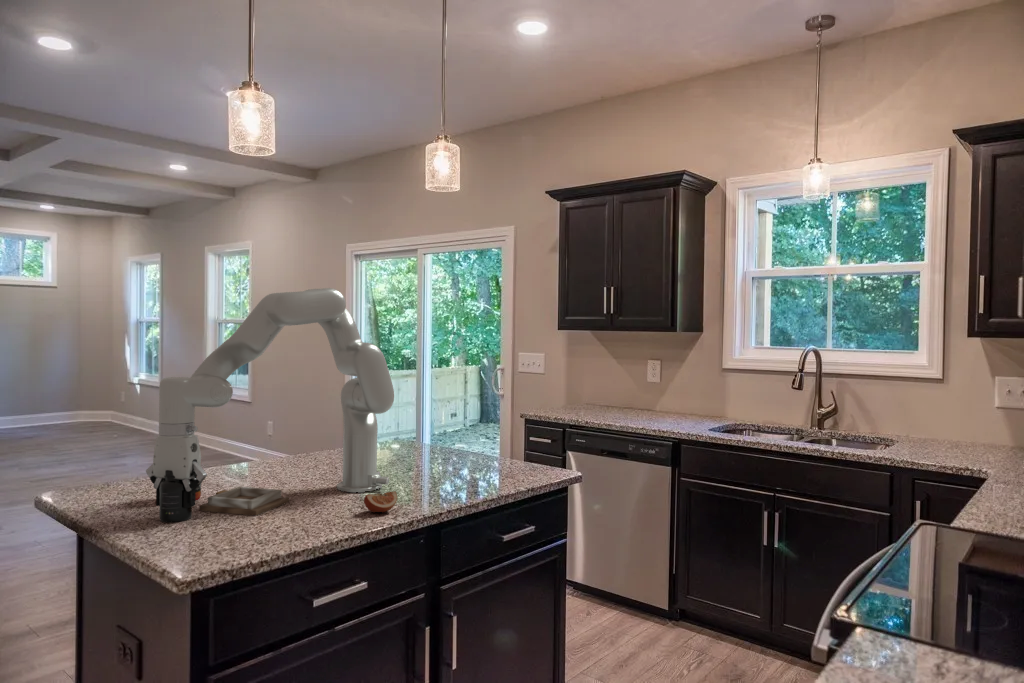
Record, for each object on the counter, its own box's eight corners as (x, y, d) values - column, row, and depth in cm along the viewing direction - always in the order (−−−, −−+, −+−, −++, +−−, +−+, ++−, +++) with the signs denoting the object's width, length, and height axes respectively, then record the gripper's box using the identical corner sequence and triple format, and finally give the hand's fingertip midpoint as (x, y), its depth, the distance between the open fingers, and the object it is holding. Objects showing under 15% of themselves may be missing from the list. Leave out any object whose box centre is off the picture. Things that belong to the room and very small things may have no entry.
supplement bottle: (166, 515, 159) (167, 465, 159) (196, 514, 160) (197, 465, 160) (153, 523, 153) (154, 471, 152) (184, 523, 153) (185, 471, 153)
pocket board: (289, 502, 174) (289, 489, 174) (256, 515, 160) (256, 502, 160) (235, 497, 178) (235, 485, 178) (199, 510, 164) (199, 497, 164)
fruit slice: (389, 507, 171) (390, 487, 171) (402, 513, 165) (403, 493, 165) (359, 512, 165) (360, 492, 165) (372, 518, 160) (372, 497, 160)
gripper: (219, 429, 158) (218, 504, 158) (157, 426, 162) (156, 499, 162) (197, 434, 150) (196, 512, 151) (133, 430, 155) (132, 506, 155)
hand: (175, 505), depth 156 cm, fingers closed on supplement bottle, 6 cm apart
